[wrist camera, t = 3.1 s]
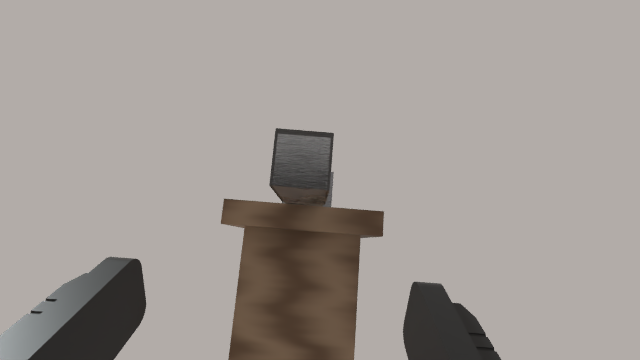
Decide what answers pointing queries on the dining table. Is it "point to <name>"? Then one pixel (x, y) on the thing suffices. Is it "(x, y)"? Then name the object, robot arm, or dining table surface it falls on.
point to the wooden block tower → (297, 279)
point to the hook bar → (302, 167)
